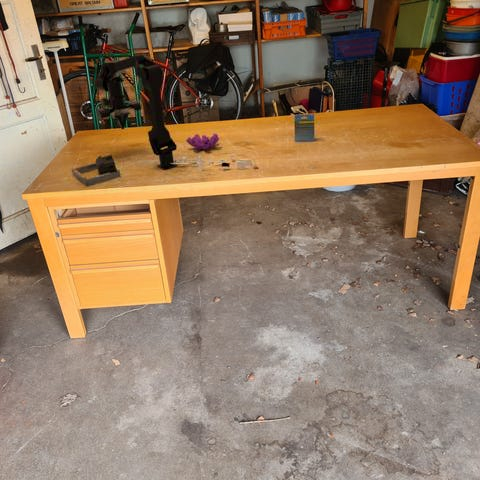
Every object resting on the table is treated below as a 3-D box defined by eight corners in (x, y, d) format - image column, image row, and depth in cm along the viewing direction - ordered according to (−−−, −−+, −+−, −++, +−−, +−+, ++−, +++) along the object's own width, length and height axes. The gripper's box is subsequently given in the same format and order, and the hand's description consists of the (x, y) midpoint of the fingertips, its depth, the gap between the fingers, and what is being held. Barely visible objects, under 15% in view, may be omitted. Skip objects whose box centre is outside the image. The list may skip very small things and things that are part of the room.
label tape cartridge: (314, 138, 212) (314, 111, 206) (314, 141, 209) (314, 114, 203) (294, 139, 213) (294, 112, 207) (294, 142, 210) (294, 115, 204)
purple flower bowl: (219, 156, 210) (216, 144, 201) (187, 157, 211) (182, 145, 203) (221, 135, 214) (218, 123, 205) (189, 136, 216) (185, 124, 207)
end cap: (99, 172, 193) (93, 157, 189) (115, 167, 194) (110, 152, 191) (101, 180, 184) (95, 164, 181) (118, 175, 186) (113, 159, 182)
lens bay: (120, 176, 186) (119, 170, 185) (87, 186, 179) (85, 179, 178) (104, 166, 198) (103, 160, 197) (72, 175, 191) (71, 168, 190)
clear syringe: (170, 171, 185) (175, 165, 197) (256, 172, 184) (257, 166, 195) (169, 155, 183) (174, 150, 195) (257, 156, 182) (257, 151, 193)
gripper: (128, 86, 205) (134, 121, 213) (87, 94, 196) (95, 130, 204) (139, 89, 197) (145, 125, 205) (97, 98, 188) (105, 135, 196)
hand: (122, 129), depth 203 cm, fingers closed
